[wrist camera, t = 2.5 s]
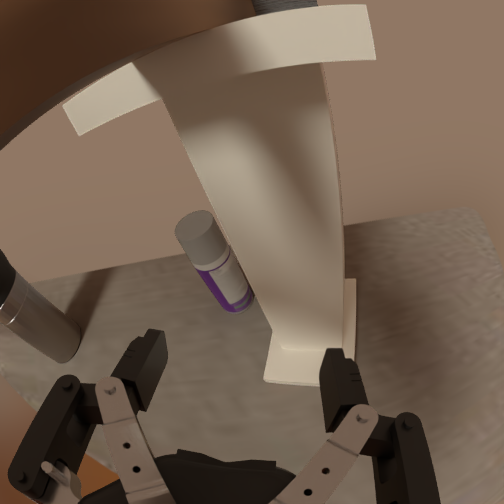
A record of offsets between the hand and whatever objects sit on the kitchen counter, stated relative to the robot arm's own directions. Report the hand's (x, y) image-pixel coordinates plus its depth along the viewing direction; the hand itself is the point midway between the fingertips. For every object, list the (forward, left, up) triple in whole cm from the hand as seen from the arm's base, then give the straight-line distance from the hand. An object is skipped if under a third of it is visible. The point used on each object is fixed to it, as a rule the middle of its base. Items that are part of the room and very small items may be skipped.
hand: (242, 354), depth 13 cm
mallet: (0, +3, +12) cm, 13 cm away
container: (-16, +7, -20) cm, 27 cm away
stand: (-4, +9, -20) cm, 22 cm away
